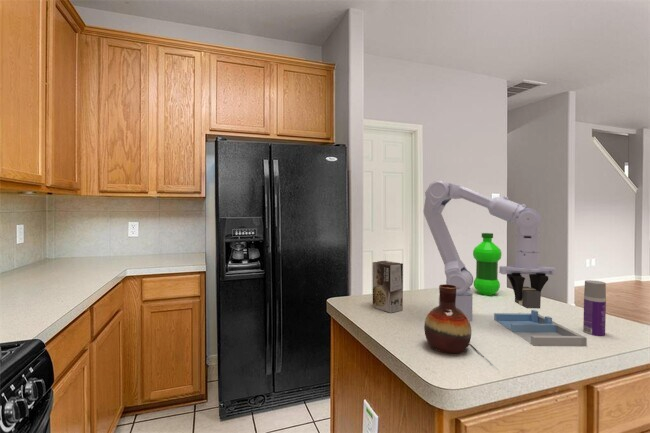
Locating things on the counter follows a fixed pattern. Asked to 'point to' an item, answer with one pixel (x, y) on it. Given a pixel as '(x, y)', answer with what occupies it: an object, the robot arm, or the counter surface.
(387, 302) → the coffee box
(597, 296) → the container
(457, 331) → the vase
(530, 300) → the dark striped block
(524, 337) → the board
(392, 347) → the counter surface
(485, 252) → the plastic bottle
